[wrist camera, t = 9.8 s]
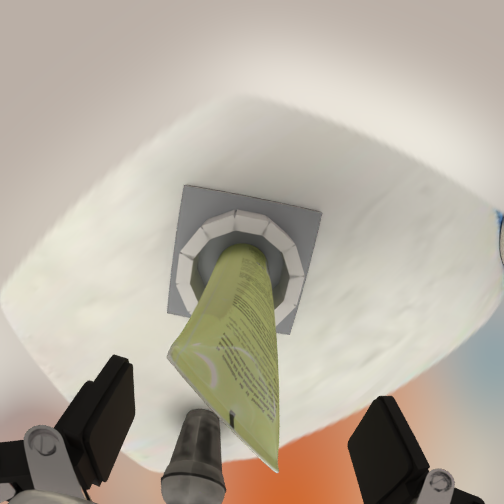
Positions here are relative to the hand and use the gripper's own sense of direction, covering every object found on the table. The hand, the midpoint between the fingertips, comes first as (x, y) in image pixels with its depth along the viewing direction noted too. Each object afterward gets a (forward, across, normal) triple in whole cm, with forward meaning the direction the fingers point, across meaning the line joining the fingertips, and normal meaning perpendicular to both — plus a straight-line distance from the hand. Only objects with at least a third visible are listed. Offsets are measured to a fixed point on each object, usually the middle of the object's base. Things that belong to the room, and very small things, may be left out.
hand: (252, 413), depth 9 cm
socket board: (+20, +1, 0) cm, 20 cm away
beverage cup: (+20, +2, +23) cm, 31 cm away
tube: (+19, +1, 0) cm, 19 cm away
